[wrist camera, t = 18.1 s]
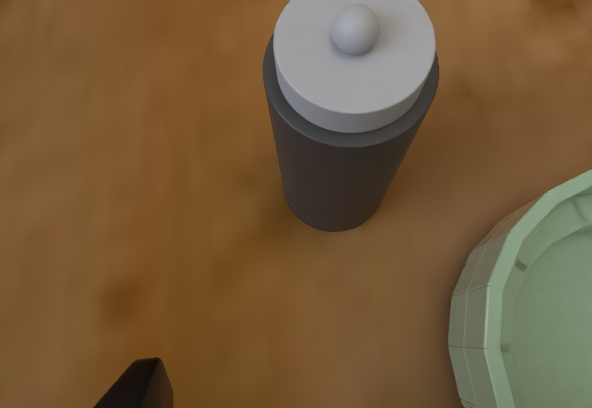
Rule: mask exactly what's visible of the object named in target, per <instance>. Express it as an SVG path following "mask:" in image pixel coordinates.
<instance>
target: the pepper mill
mask: <svg viewBox="0 0 592 408" xmlns="http://www.w3.org/2000/svg"><path fill="white" fill-rule="evenodd" d="M263 80H264V86H265V91H266V96H267V102H268V107H269V112H270V117H271V123H272V128H273V133H274V138H275V144H276V149H277V154H278V159H279V165H280V170H281V175H282V180H283V186H284V191H285V195H286V199H287V201H288V203H289V205H290V207H291V209H292V210H293V212H294V213H295V214H296V215H297V216H298V217H299V218H300V219H301V220H302V221H304V222H305V223H307V224H308V225H310V226H312V227H314V228H317V229H320V230H325V231H333V232H334V231H344V230H349V229H352V228H354V227H357V226H359V225H360V224H362V223H364V222H365V221H366V220H367V219H369V218H370V217H371V216H372V215H373V213H374V212H375V211H376V209H377V208H378V206H379V204H380V202H381V200H382V198H383V196H384V194H385V192H386V191H387V189H388V187H389V185H390V183H391V181H392V179H393V177H394V175H395V173H396V171H397V169H398V167H399V165H400V163H401V161H402V160H403V158H404V156H405V154H406V152H407V150H408V148H409V146H410V144H411V142H412V140H413V138H414V136H415V134H416V132H417V130H418V129H419V127H420V125H421V123H422V121H423V119H424V117H425V115H426V113H427V111H428V109H429V107H430V105H431V103H432V101H433V99H434V97H435V93H436V90H437V86H438V80H439V64H438V58H437V54H436V39H435V33H434V29H433V26H432V22H431V20H430V18H429V16H428V14H427V12H426V11H425V9H424V8H423V6H422V5H421V4H420V3H419V1H418V0H290V2H289V3H288V4H287V5H286V7H285V8H284V10H283V11H282V13H281V15H280V17H279V19H278V21H277V24H276V28H275V31H274V34H273V35H272V37H271V39H270V41H269V43H268V46H267V48H266V52H265V55H264V61H263Z"/></svg>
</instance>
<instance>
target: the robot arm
mask: <svg viewBox="0 0 592 408" xmlns="http://www.w3.org/2000/svg"><path fill="white" fill-rule="evenodd" d="M93 408H173V392H172V388H171V385H170V382H169V379H168V376H167V373H166V370H165V367H164V364H163V362H162V360H161V359H160V358H157V357H154V358H146V359H138V360H136V361H134V362H133V363H132V364H131V365H130V366H129V367H128V368H127V370H126V371H125V372H124V373H123V374H122V375H121V376H120V377H119V379H118V380H117V381H116V382H115V383H114V384H113V385H112V387H111V388H110V389H109V390H108V391H107V392H106V393H105V395H104V396H103V397H102V398H101V399H100V400H99V401H98V402H97V404H96V405H95V406H94V407H93Z"/></svg>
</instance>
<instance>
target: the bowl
mask: <svg viewBox="0 0 592 408" xmlns="http://www.w3.org/2000/svg"><path fill="white" fill-rule="evenodd" d="M448 346H449V353H450V357H451V362H452V366H453V370H454V375H455V379H456V384H457V388H458V392H459V397H460V399H461V402H462V404H463V406H464V408H592V169H590V170H588V171H586V172H584V173H582V174H580V175H578V176H576V177H574V178H572V179H570V180H568V181H566V182H564V183H562V184H560V185H558V186H556V187H554V188H552V189H550V190H548V191H547V192H545V193H543V194H542V195H540V196H538V197H537V198H535V199H534V200H532V201H530V202H529V203H527V204H525V205H524V206H522V207H520V208H519V209H517V210H516V211H514V212H512V213H511V214H509V215H507V216H506V217H504V218H502V219H501V220H500V221H499V222H498V223H497V224H496V225H495V226H494V227H493V228H492V229H491V230H490V232H489V233H488V234H487V235H486V236H485V237H484V238H483V239H482V240H481V241H480V242H479V243H478V244H477V245H476V246H475V248H474V249H473V250H472V251H471V253H470V254H469V257H468V259H467V261H466V264H465V266H464V268H463V271H462V273H461V275H460V278H459V280H458V282H457V285H456V287H455V289H454V292H453V296H452V298H451V311H450V324H449V336H448Z"/></svg>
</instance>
